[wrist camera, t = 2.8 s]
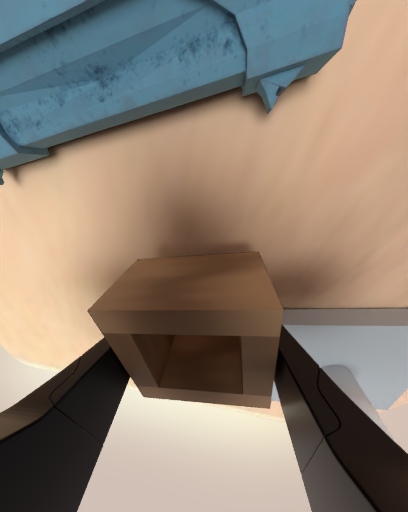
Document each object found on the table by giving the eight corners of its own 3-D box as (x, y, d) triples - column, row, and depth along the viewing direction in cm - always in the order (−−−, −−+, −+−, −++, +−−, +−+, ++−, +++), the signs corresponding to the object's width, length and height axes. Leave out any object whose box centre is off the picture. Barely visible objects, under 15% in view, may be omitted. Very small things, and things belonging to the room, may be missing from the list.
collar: (258, 251, 8) (283, 309, 5) (256, 336, 12) (269, 408, 8) (138, 259, 9) (87, 310, 6) (166, 334, 13) (143, 397, 9)
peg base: (436, 308, 11) (599, 412, 6) (374, 391, 17) (436, 481, 12) (259, 309, 13) (279, 390, 8) (256, 383, 18) (267, 458, 14)
